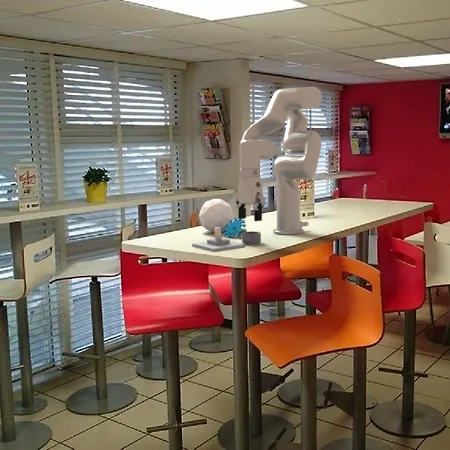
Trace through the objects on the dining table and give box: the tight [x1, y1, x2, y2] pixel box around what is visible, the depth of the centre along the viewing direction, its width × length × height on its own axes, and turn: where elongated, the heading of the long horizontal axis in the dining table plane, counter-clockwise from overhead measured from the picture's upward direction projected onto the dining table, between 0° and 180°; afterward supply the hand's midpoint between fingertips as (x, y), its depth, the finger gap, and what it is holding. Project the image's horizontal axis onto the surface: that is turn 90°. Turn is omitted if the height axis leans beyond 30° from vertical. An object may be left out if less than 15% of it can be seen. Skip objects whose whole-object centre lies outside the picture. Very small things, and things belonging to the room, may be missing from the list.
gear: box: [223, 217, 248, 239], centre depth 239 cm, size 11×6×10 cm
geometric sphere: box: [198, 198, 234, 233], centre depth 251 cm, size 14×15×15 cm
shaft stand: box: [191, 227, 246, 252], centre depth 217 cm, size 14×14×7 cm
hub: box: [241, 230, 262, 246], centre depth 222 cm, size 7×7×4 cm
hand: (249, 219), depth 221 cm, fingers open, 9 cm apart
